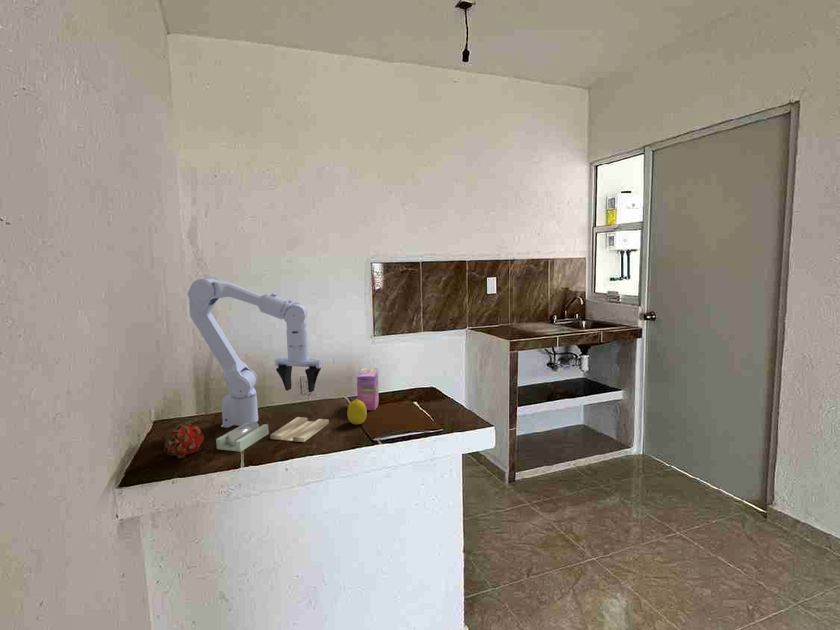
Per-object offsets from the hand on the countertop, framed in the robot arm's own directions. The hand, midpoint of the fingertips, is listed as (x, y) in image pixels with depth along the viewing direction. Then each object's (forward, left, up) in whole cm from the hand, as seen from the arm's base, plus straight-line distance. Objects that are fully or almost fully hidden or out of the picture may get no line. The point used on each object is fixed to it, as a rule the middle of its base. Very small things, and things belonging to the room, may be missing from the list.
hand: (299, 390), depth 139 cm
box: (+15, +16, -10) cm, 24 cm away
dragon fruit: (-17, -28, -10) cm, 34 cm away
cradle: (-6, -19, -9) cm, 22 cm away
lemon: (+18, 0, -10) cm, 20 cm away
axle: (-6, -19, -8) cm, 21 cm away
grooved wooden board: (+5, -9, -9) cm, 14 cm away
